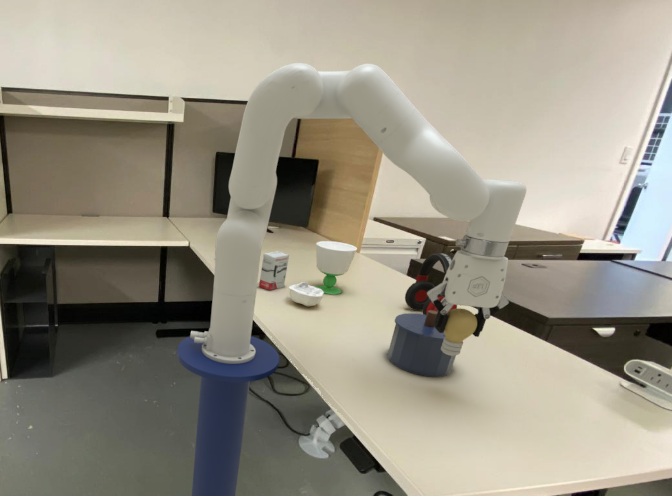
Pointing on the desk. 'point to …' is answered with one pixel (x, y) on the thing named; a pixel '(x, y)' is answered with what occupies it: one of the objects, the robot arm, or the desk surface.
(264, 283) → the ink box
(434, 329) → the pot lid
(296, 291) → the cell model
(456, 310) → the light bulb
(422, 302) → the headphones
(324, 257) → the cup
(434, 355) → the pot
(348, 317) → the desk surface
